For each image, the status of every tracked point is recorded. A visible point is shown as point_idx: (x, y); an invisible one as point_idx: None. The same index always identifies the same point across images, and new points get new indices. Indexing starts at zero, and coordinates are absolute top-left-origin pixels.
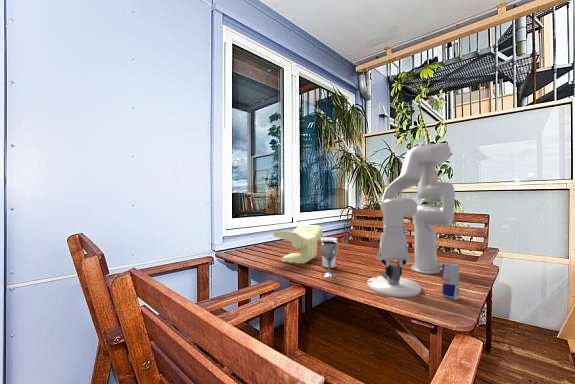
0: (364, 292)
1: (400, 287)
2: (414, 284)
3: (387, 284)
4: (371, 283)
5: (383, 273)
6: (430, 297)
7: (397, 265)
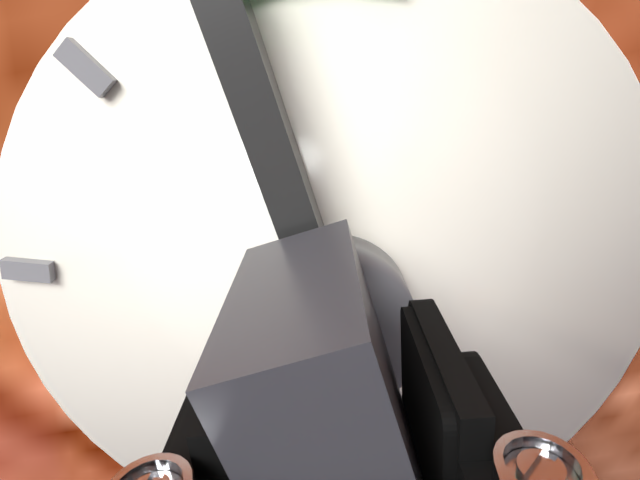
0: (31, 443)
1: None
2: (600, 272)
3: None
4: (58, 325)
5: (202, 27)
6: (615, 458)
7: (463, 475)
